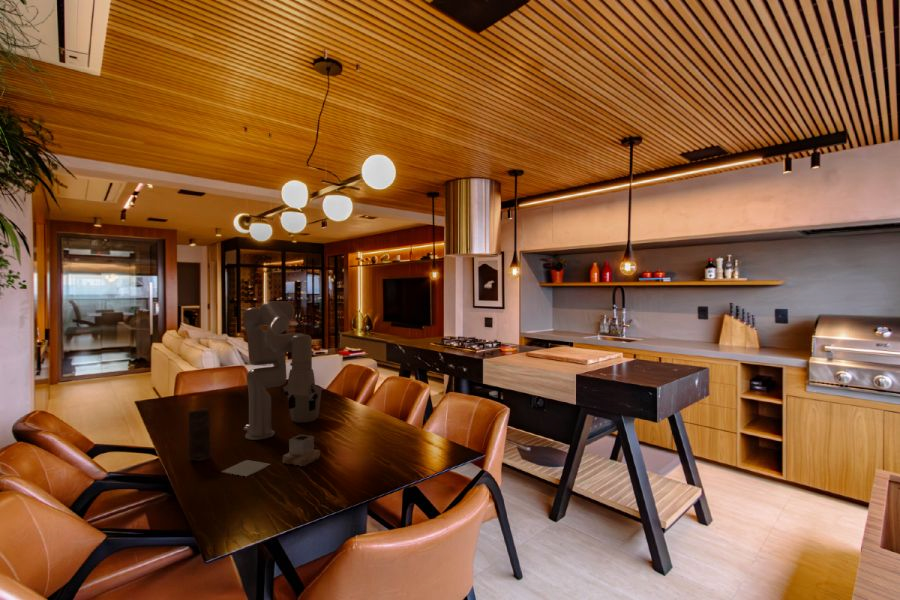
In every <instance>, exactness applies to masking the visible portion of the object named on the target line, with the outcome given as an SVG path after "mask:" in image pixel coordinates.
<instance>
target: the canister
mask: <svg viewBox="0 0 900 600" xmlns="http://www.w3.org/2000/svg"><path fill="white" fill-rule="evenodd" d="M315 385H316V386H317V387H319V388H320V389H321V392H320V394H319V396H318V397H317V399H316V407H315V410H312V411H309V401H310V399H309V397H308V396H297V395H295V396H294V397H295V408H292V409H289V415H290V418H291V421H293V422H295V423H297V424H299V423H300V424H305V423H307V424H308V423H310V422H315V421H316V420H317V419H318V417H319V413H320V406H321V399H322V398H321V397H322V390H323V389H324V388H323V387H322V386H320V385H319V384H315ZM315 393H316V391H315ZM287 400H288V401H289V399H288V398H287Z"/></svg>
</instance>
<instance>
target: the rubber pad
mask: <svg viewBox="0 0 900 600" xmlns="http://www.w3.org/2000/svg"><path fill="white" fill-rule="evenodd" d="M269 465H270V466H271V465H272V463H267V462H263V461H262V462H261V461H257V460H256V461H255V460H248V459H246V460H243V461H240V462H239V463H237V464H234V465H232V466H230V467H227V468H226V469H223V470H221V471H220V472H221V473H222V474H226V475H227V474H228V475H232V474H233V476H237V475H239V476H238V477H243V476H245V477H244V478H248V477H250V476H252V475H254V474H256V473H258V472H260V471H262V470H263V469H266V468H268V467H270V466H269ZM267 466H268V467H267ZM251 474H252V475H251ZM249 475H250V476H249ZM247 476H248V477H247Z"/></svg>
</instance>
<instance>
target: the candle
mask: <svg viewBox="0 0 900 600" xmlns="http://www.w3.org/2000/svg"><path fill="white" fill-rule="evenodd" d="M210 425H211V424H210V408H209V409H208V408H206V407H202V408H200V409H195V410H190V411H188V448H189V450H188V451H189V453H188V454H189V457H188V458H189V460H192V461H203V462H204V461H208V460H209V459H210V458H211V454H212V453H211V432H210V431H211V427H210Z"/></svg>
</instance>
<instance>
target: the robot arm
mask: <svg viewBox="0 0 900 600" xmlns="http://www.w3.org/2000/svg"><path fill="white" fill-rule="evenodd" d="M294 317H295V307H294V305H293V304H292V302H289V301H283V300H280V301H278V300H277V301H273V300H272V301H265V302H264V303H262V304H261V305H260V306H258V307H257V306H255V307H250V308H246V309H245V310H244V311H243V314H242V324H243V328H244V330H245V333H246V337H247V349H248V360H249V363H250V365H253V366H263V365H270V364H271V365H273V366H265V367H257V368H252V369H251V370H249V371H248V372H247V374H246V384H247V390H248V391H247V392H248V424H246V425H245V426H244V427H243V428H242V429H243V431H246V433H245V435H244V437H245V439H246V440H251V441H252V440H253V441H256V440H257V441H259V440H266V439H269V438H271V437H273V436H275V434H276V433H275V431H274V430H273V429H272V397H271V394H270V393H269V392H268V390H267V388H273V387H275V388H276V387H280V386H283V387H282V388H283V391H284V395H286V398H287V400H288V399H289V400H288V409H289V410H290V409H292V408H295V397H294V396H295V395H297V396H308V397H309V399H310V401H309V411H312V410H315V407H316V399H317V397H318V396H319V394H320V392H321V393H322V390H321V389H320V388H319V387H317V386H316V385H317V384H316V380H315V372H314V369H313V366H312V365H313V361H312V360H313V356H312V355H313V353H312V352H313V351H312V350H313V349H312V348H313V346H312V344H313V343H312V342H313V341H312V340H313V339H312V336H311V335H309V334H304V333H302V332H294V333H290V332H289V333H284V332H285V331H287V329H289V327H290V323H291V320H292V319H293V318H294ZM262 326H267V328H266V330H265V329H264V328H263V327H262ZM286 353H291V362H290V363H289V365H290V366H291V369H290V370H289V373H288V375H287V362H286ZM287 377H288V381H287ZM285 383H287V384H286V385H285ZM284 385H285V386H284ZM315 391H316V393H315Z"/></svg>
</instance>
